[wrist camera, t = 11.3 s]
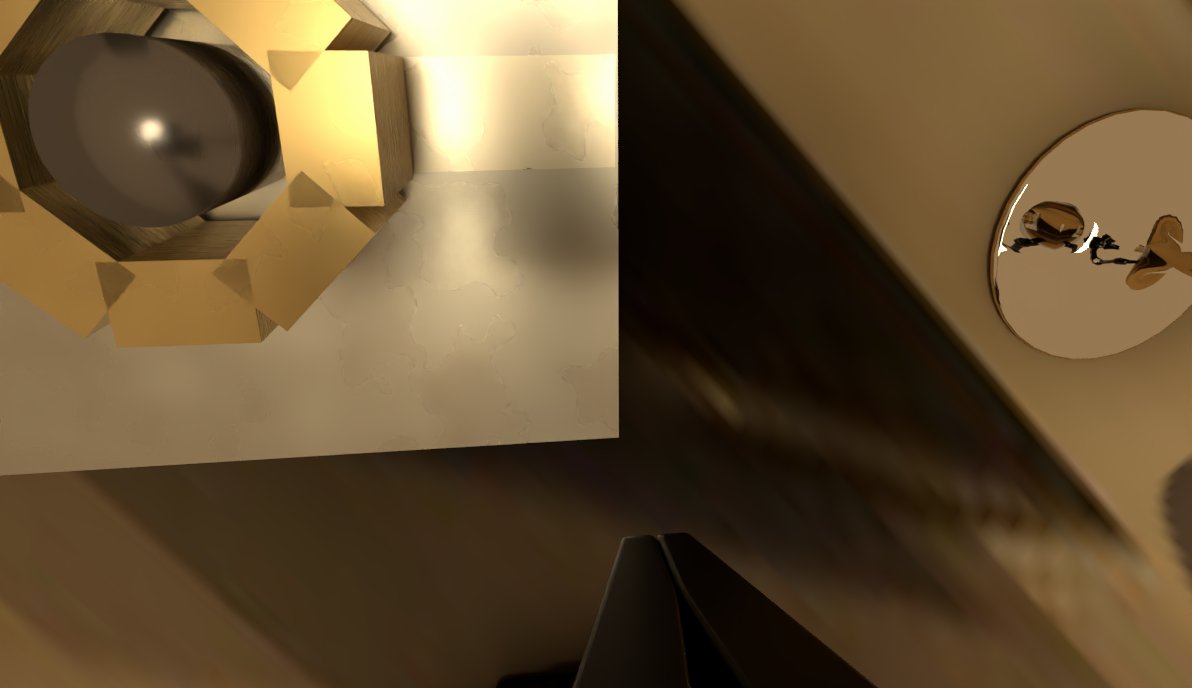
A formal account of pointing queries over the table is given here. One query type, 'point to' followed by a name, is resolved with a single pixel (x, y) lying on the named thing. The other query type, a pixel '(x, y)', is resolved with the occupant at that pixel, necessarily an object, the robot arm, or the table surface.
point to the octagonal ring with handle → (197, 247)
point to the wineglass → (1099, 237)
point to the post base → (378, 272)
